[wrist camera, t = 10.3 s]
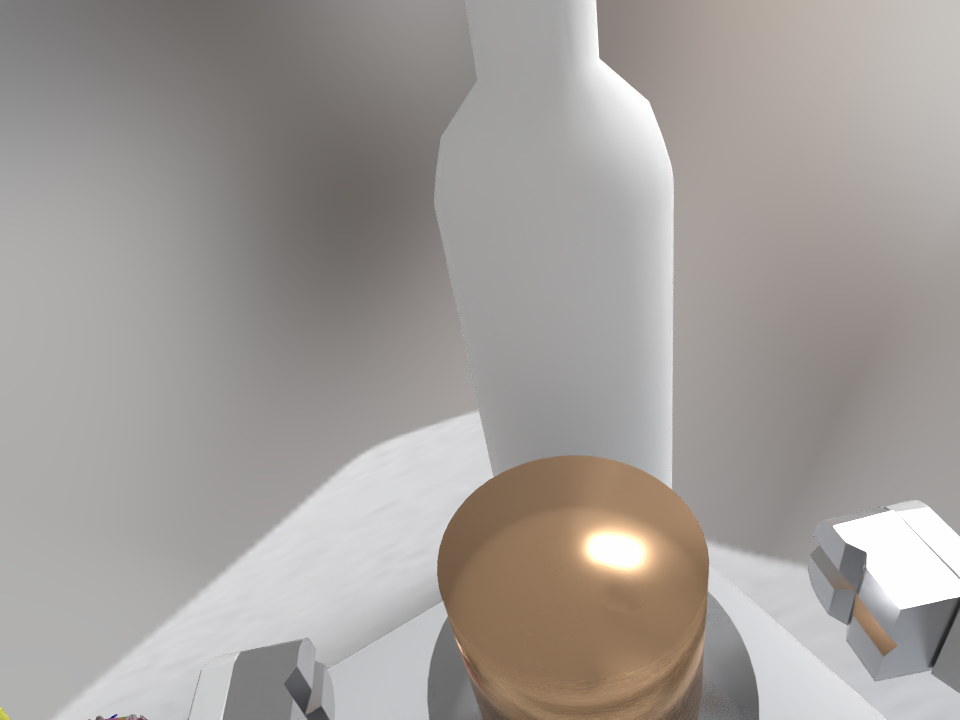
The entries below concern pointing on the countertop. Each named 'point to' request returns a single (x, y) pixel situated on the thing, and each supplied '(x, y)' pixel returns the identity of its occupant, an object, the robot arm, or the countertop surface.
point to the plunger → (582, 603)
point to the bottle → (559, 243)
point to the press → (773, 651)
